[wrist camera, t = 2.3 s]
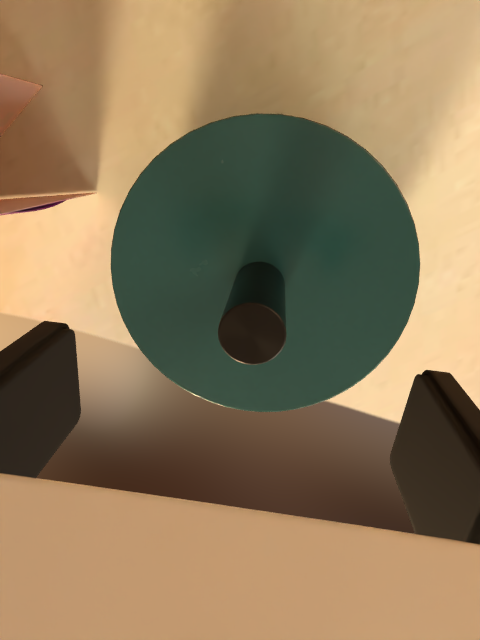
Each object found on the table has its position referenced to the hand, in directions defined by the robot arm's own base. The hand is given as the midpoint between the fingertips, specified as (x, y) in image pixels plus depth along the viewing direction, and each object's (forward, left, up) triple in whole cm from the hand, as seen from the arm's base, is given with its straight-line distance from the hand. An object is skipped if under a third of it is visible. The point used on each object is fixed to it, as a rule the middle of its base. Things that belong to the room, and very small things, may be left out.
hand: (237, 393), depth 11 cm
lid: (0, 0, -9) cm, 9 cm away
